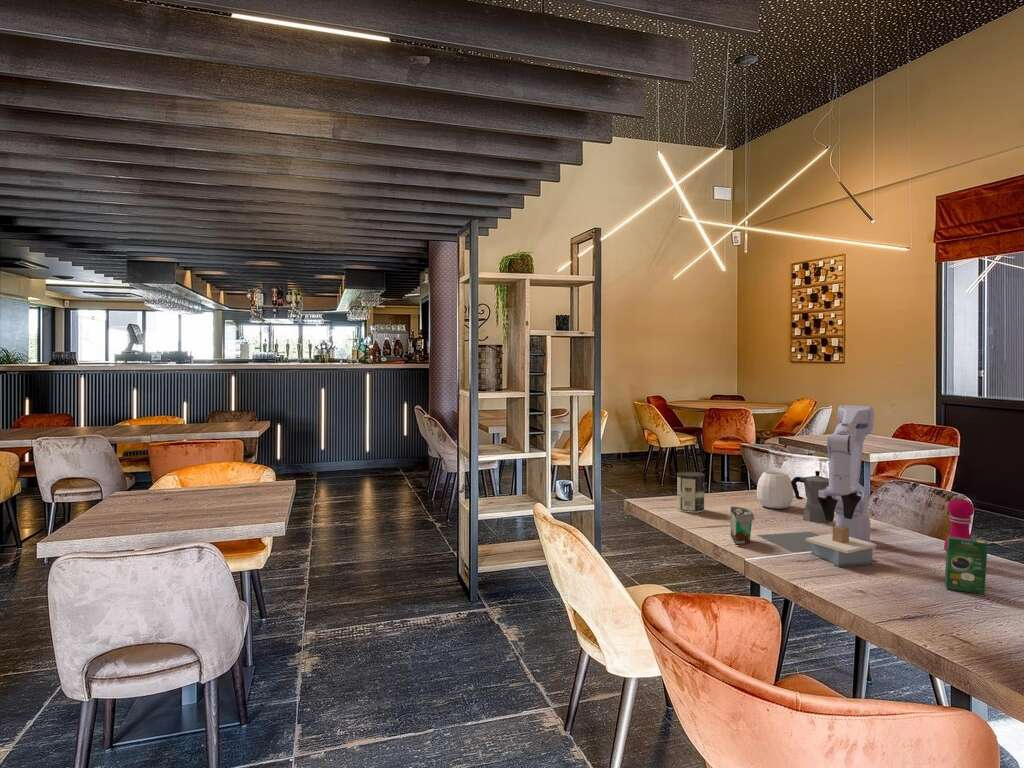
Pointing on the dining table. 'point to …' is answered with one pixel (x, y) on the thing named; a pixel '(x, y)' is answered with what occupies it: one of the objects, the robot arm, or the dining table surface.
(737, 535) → the food container
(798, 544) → the mat
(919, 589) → the dining table surface
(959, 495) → the pepper mill
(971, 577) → the coffee box
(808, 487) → the coffeepot
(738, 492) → the dining table surface
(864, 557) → the dish
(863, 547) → the lid
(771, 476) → the white vase
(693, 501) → the coffee can
